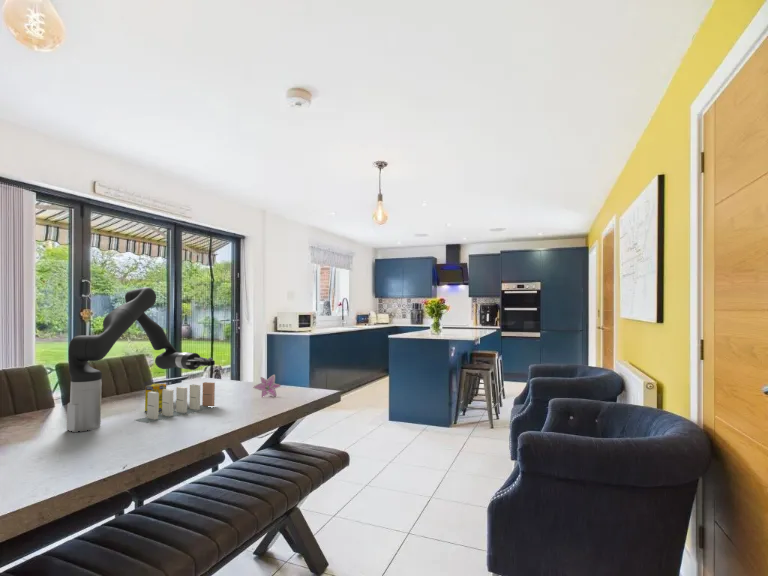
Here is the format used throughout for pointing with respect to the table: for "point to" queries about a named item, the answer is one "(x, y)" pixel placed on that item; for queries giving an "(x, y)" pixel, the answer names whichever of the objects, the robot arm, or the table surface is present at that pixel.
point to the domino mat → (161, 417)
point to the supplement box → (155, 388)
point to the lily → (267, 386)
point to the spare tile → (208, 394)
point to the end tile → (152, 405)
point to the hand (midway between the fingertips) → (212, 363)
